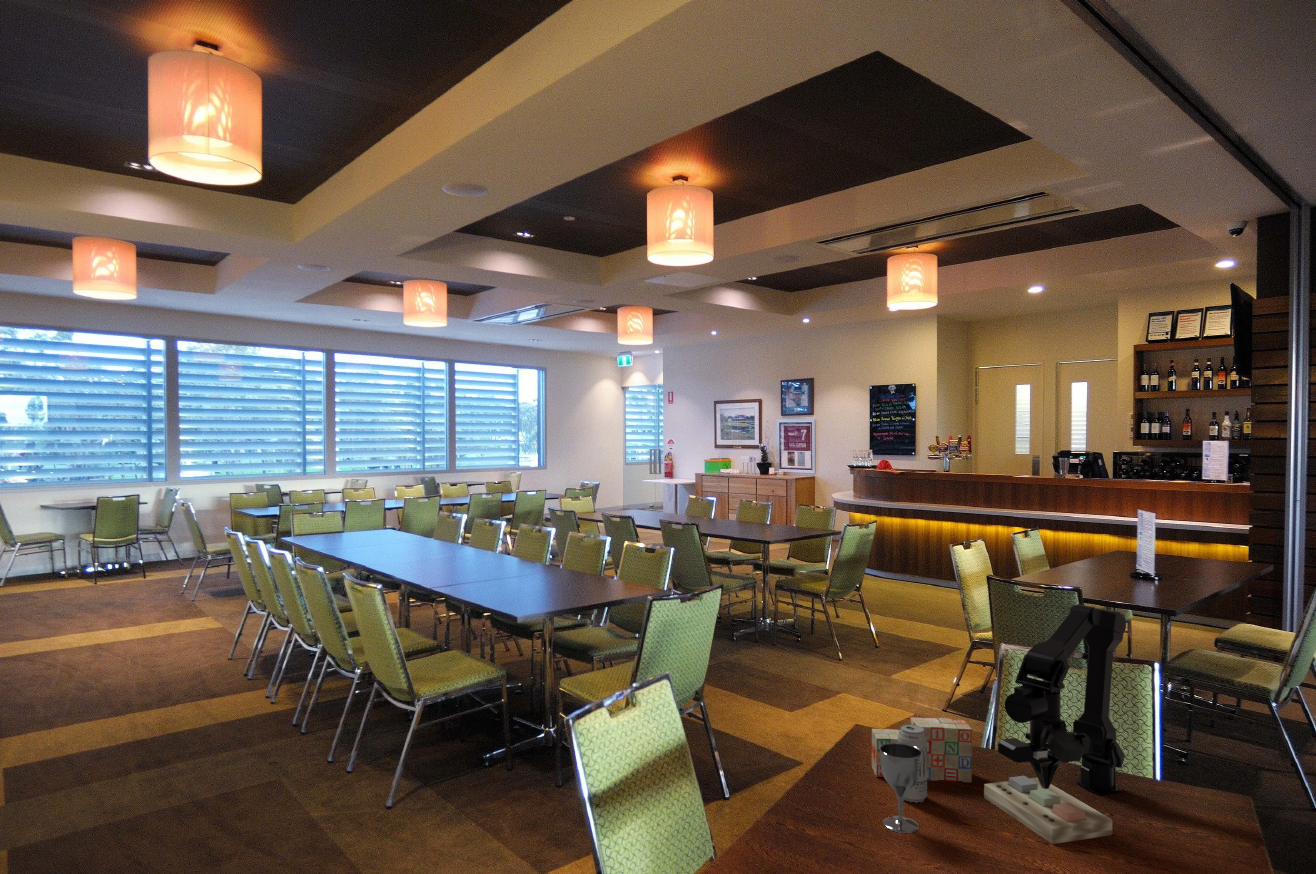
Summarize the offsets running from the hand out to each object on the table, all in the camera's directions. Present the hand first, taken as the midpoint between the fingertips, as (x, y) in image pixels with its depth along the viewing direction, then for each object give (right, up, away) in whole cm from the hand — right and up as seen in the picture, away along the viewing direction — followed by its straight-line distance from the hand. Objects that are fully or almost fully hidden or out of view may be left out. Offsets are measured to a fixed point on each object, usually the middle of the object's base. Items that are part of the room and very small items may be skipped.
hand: (1045, 788), depth 162 cm
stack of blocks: (-19, -6, +20) cm, 28 cm away
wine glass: (-31, -6, -4) cm, 32 cm away
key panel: (0, -6, 0) cm, 6 cm away
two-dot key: (+2, -3, -6) cm, 7 cm away
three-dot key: (-2, -3, +6) cm, 7 cm away
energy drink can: (-25, -6, +8) cm, 27 cm away
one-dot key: (0, -3, 0) cm, 3 cm away
